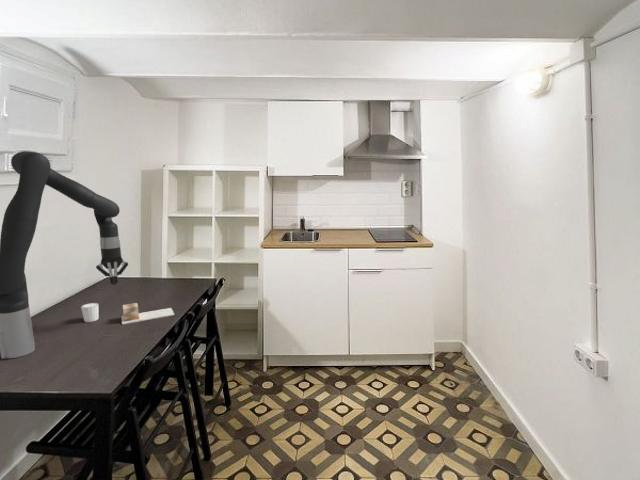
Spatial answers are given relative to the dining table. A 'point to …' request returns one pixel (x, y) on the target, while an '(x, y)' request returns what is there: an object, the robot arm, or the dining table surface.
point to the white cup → (90, 312)
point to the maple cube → (130, 312)
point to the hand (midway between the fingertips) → (114, 284)
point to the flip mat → (150, 315)
